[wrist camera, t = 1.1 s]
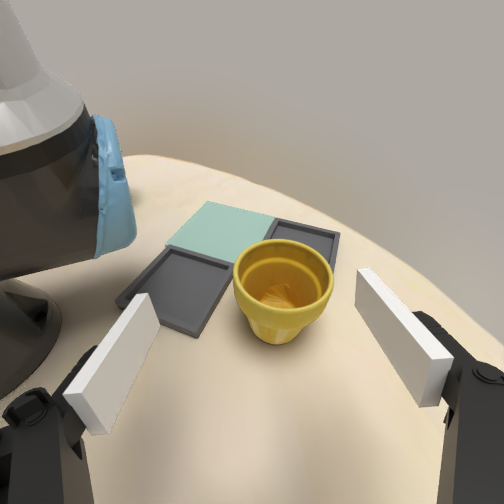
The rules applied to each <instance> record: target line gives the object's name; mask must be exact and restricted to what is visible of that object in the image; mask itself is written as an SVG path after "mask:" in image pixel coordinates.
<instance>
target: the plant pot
mask: <svg viewBox="0 0 504 504" xmlns="http://www.w3.org/2000/svg"><path fill="white" fill-rule="evenodd" d="M233 286H234V294H235V298H236V301H237V304H238V305H239V307H240V309H241V310H242V311H243V312H244V314H245V315H246V316H247V318H248V321H249V324H250V326H251V329H252V330H253V332H254V333H255V335H256V336H257V337H258V338H260V339H261V340H263V341H265V342H267V343H270V344H284V343H287V342H289V341H291V340H292V339H293V338H295V337H296V335H297V334H298V333H299V332H300V331H301V329H302V328H303V327H304V326H307V325H309V324H310V323H312V322H313V321H315V320H316V319H317V318H318V317H319V316H320V315H321V314H322V312H323V311H324V309H325V307H326V305H327V303H328V301H329V298H330V296H331V293H332V290H333V286H334V277H333V273H332V270H331V267H330V265H329V264H328V262H327V261H326V260H325V258H324V257H323V256H322V255H321V254H320V253H318V252H317V251H316V250H314V249H313V248H311V247H309V246H307V245H305V244H302V243H300V242H296V241H292V240H286V239H269V240H263V241H260V242H257V243H254V244H252V245H250V246H249V247H247V248H246V249H245V250H243V251H242V252H241V253H240V255H239V256H238V257H237V259H236V261H235V264H234V267H233Z"/></svg>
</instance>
